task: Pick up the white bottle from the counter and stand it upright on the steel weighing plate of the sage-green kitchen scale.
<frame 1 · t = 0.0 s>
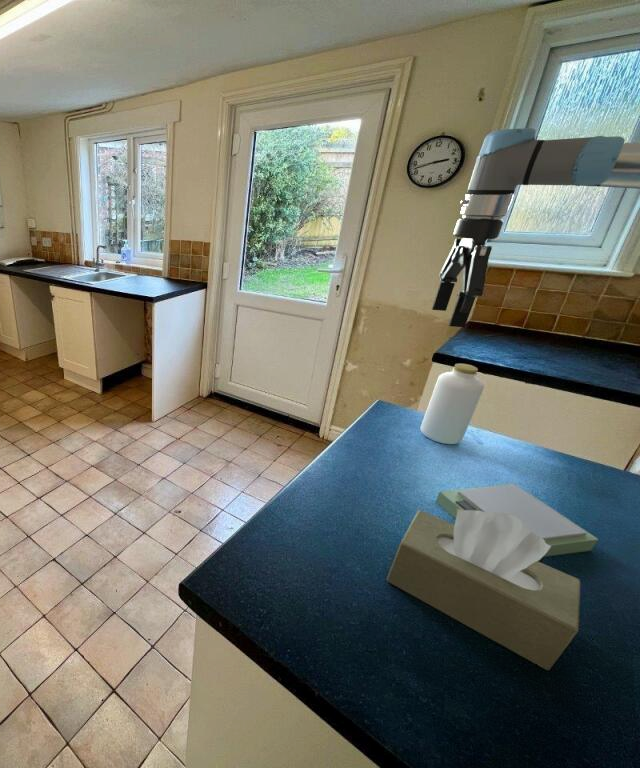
hand: (446, 317, 94), 27 cm above the worktop, tool pointing down, fingers open, 13 cm apart
white bottle: (439, 437, 99), on the worktop
kitchen scale: (507, 524, 73), on the worktop
tissue box: (465, 600, 60), on the worktop
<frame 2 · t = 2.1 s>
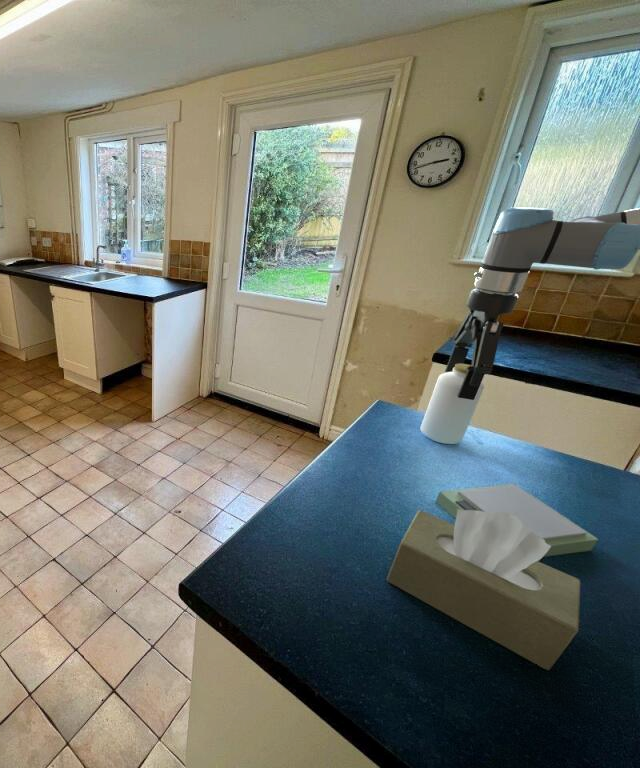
hand: (458, 385, 93), 13 cm above the worktop, tool pointing down, fingers open, 13 cm apart
nothing on the worktop moved.
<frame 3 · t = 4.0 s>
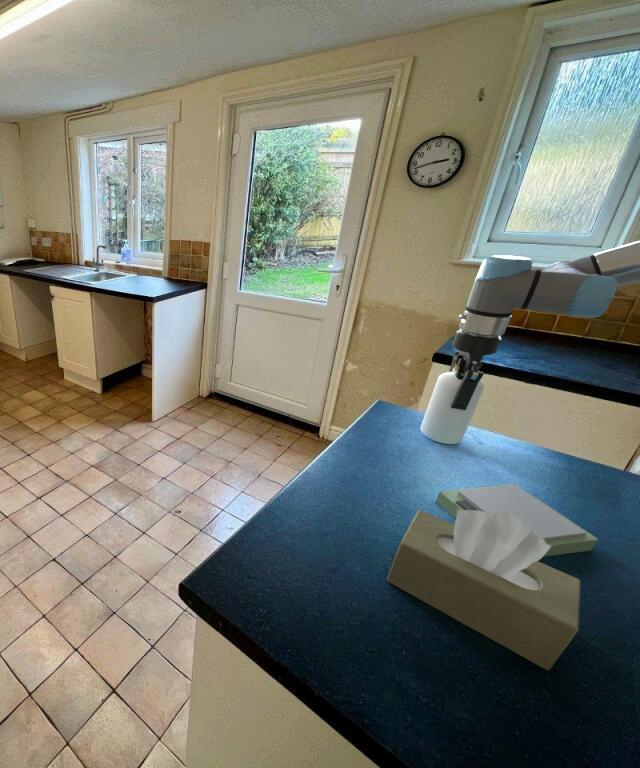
hand: (443, 427, 97), 3 cm above the worktop, tool pointing down, fingers open, 2 cm apart
white bottle: (439, 437, 99), on the worktop, touching hand
everything else where it was.
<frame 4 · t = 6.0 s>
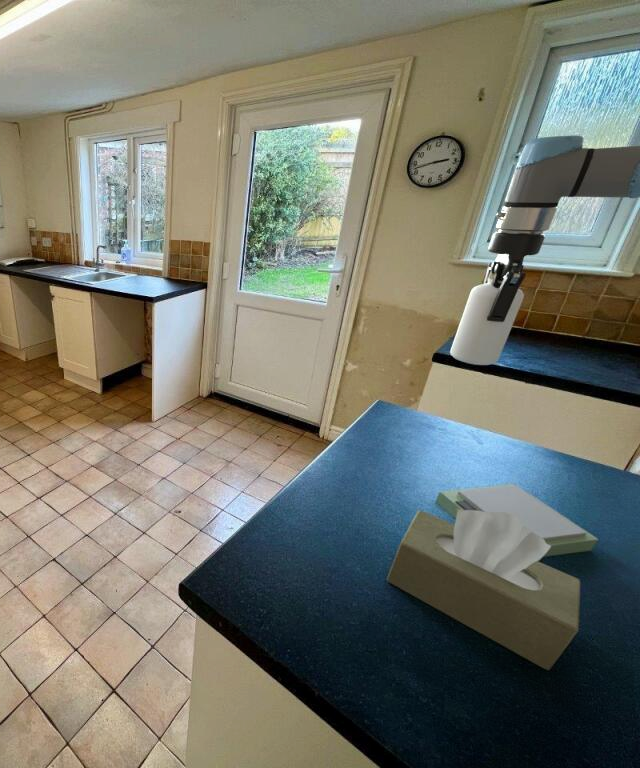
hand: (476, 348, 88), 23 cm above the worktop, tool pointing down, fingers open, 2 cm apart
white bottle: (471, 360, 89), point 20 cm above the worktop, touching hand
everything else where it was.
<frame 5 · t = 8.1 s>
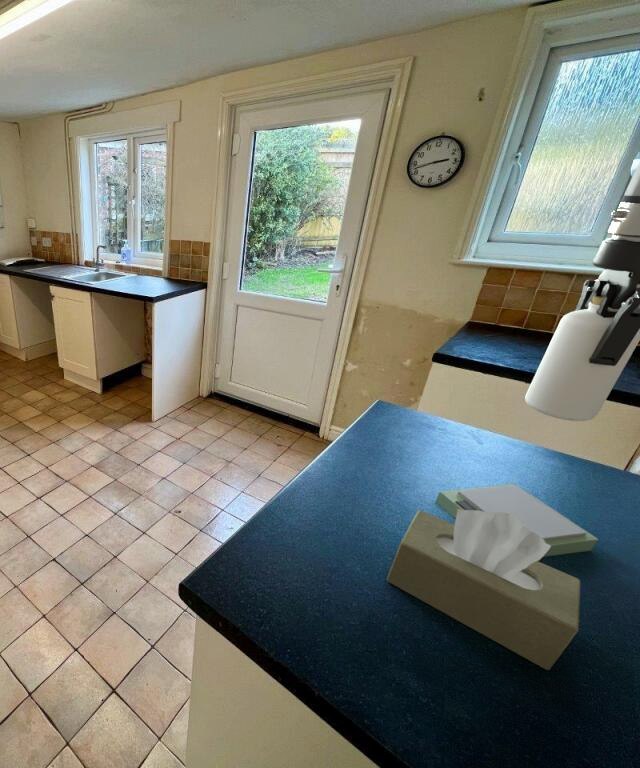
hand: (564, 396, 65), 24 cm above the worktop, tool pointing down, fingers open, 2 cm apart
white bottle: (556, 411, 66), point 22 cm above the worktop, touching hand
everything else where it was.
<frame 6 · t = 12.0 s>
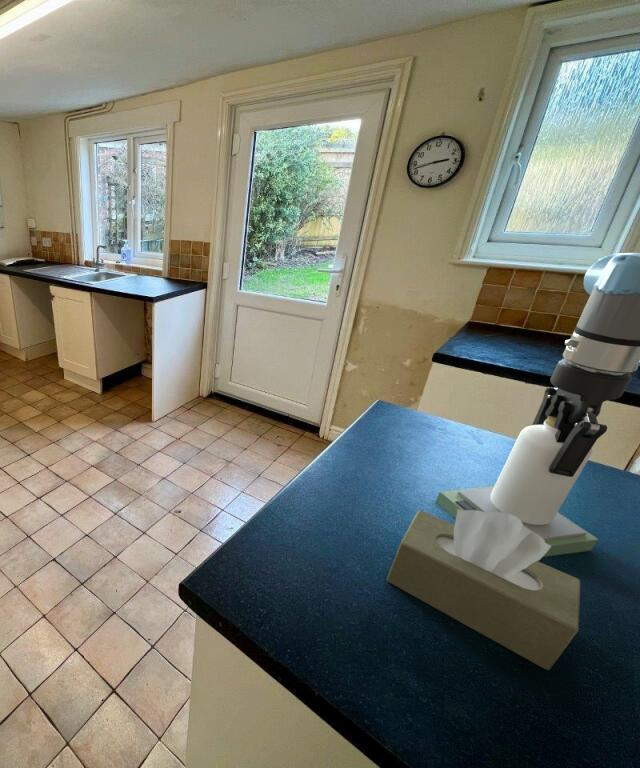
hand: (528, 492, 70), 7 cm above the worktop, tool pointing down, fingers open, 3 cm apart
white bottle: (518, 511, 72), point 3 cm above the worktop, touching kitchen scale
everything else where it was.
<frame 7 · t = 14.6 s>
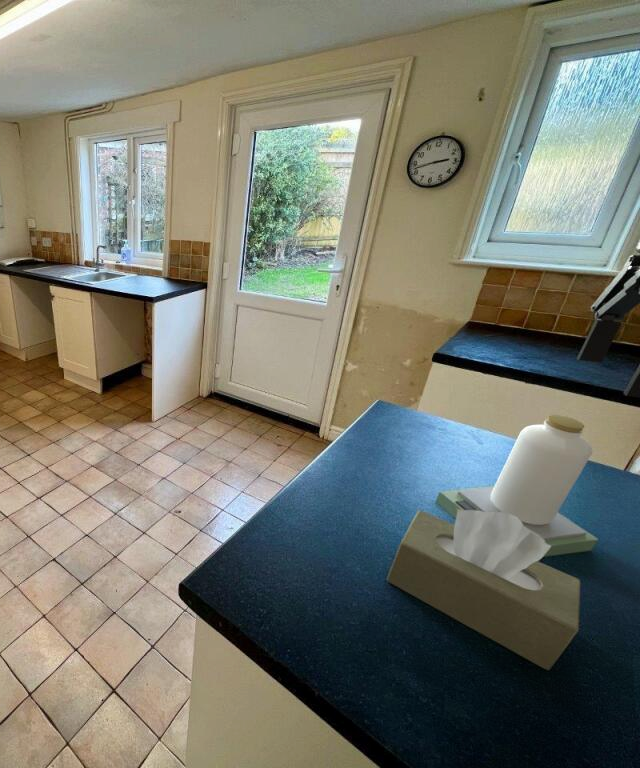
hand: (611, 377, 61), 29 cm above the worktop, tool pointing down, fingers open, 13 cm apart
nothing on the worktop moved.
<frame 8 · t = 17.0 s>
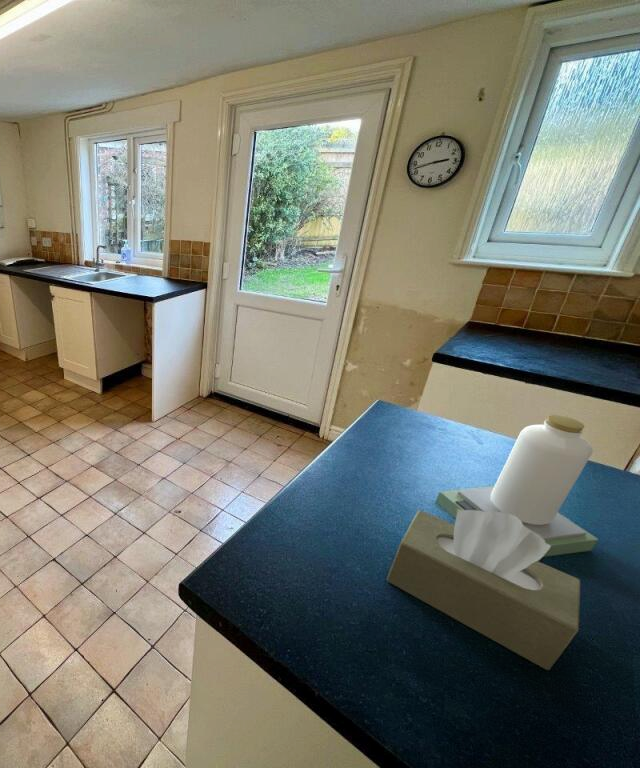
nothing on the worktop moved.
at the end: white bottle inside the target area on the kitchen scale (0.3 cm from its centre), point 2.9 cm above the kitchen scale's base; white bottle tilted 0°; the gripper is holding nothing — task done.
